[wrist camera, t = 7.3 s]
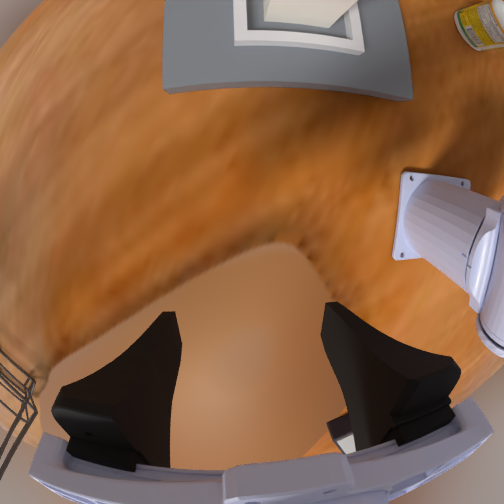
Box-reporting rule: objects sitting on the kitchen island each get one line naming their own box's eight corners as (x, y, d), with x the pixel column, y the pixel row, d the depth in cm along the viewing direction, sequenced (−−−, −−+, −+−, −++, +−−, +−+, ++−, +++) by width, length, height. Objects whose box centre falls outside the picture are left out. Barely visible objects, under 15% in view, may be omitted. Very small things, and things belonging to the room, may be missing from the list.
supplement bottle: (458, 41, 14) (523, 30, 5) (447, 3, 12) (505, -16, 3) (486, 58, 14) (546, 55, 5) (477, 21, 12) (532, 12, 3)
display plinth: (378, -24, 12) (393, -36, 9) (399, 101, 17) (420, 99, 14) (174, -40, 11) (168, -58, 8) (169, 94, 16) (158, 86, 13)
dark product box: (424, 419, 32) (347, 461, 33) (413, 403, 36) (340, 443, 37) (427, 392, 28) (333, 444, 29) (413, 374, 32) (325, 422, 33)
